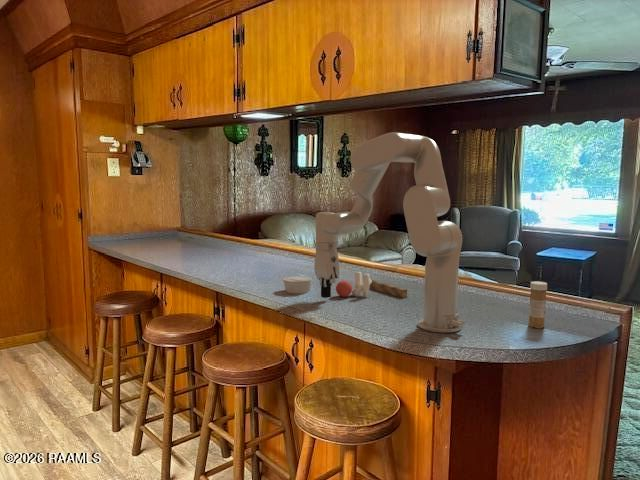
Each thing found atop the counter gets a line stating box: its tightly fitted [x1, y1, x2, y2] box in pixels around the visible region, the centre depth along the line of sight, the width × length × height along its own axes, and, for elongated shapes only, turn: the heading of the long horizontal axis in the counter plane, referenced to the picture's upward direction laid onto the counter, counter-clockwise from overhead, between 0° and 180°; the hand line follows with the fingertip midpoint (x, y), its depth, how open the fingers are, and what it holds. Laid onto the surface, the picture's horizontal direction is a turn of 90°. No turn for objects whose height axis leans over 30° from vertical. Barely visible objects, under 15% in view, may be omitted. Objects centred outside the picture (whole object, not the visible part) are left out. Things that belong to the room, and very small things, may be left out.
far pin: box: [354, 271, 363, 296], centre depth 185 cm, size 2×2×8 cm
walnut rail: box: [369, 278, 408, 299], centre depth 190 cm, size 22×2×3 cm, turn 32°
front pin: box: [351, 278, 373, 297], centre depth 183 cm, size 2×2×8 cm
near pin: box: [362, 273, 371, 298], centre depth 181 cm, size 2×2×8 cm
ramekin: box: [283, 275, 313, 295], centre depth 190 cm, size 11×11×5 cm
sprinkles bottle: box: [528, 280, 548, 329], centre depth 144 cm, size 5×5×13 cm
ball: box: [335, 280, 353, 298], centre depth 181 cm, size 6×6×6 cm
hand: (325, 296), depth 175 cm, fingers closed
